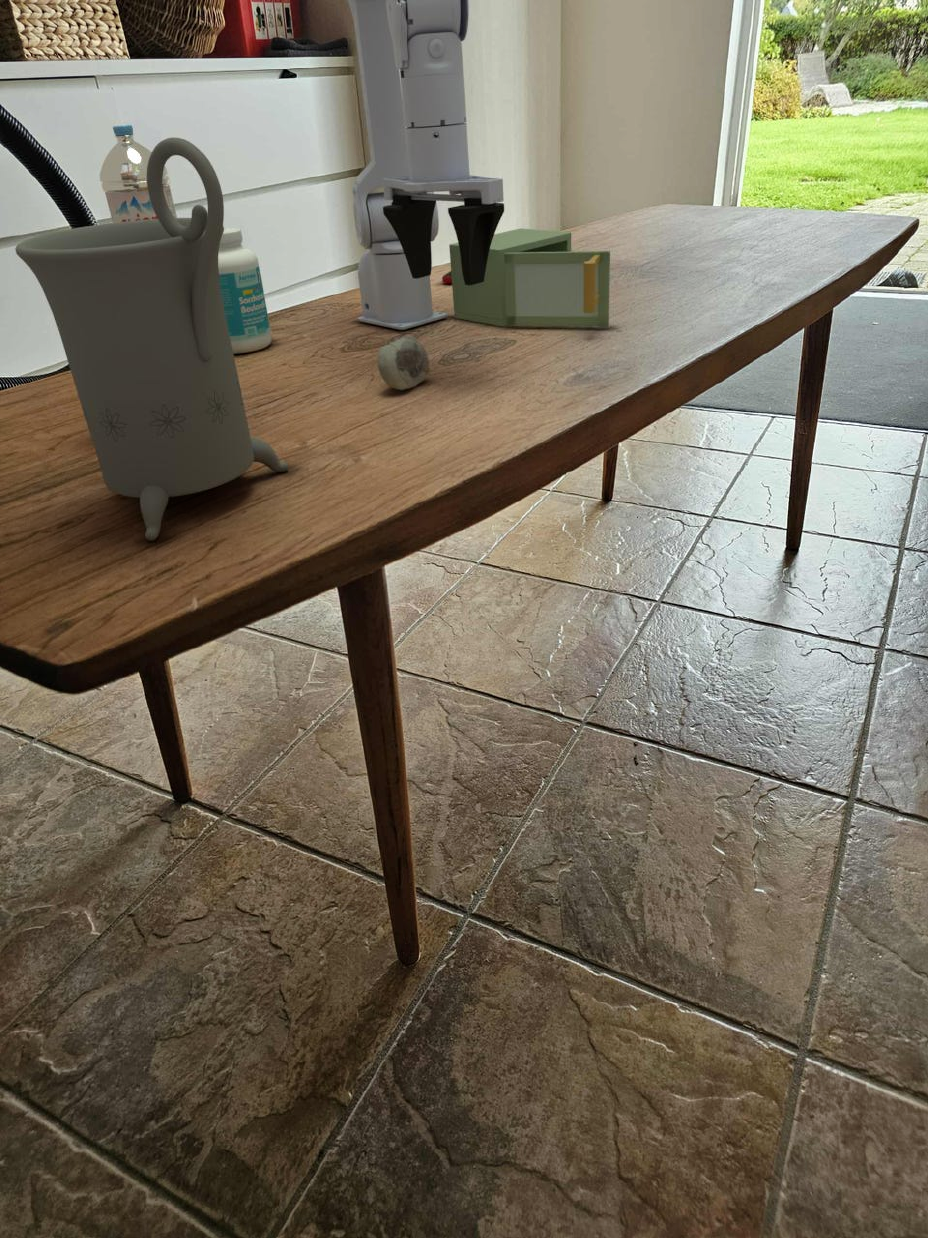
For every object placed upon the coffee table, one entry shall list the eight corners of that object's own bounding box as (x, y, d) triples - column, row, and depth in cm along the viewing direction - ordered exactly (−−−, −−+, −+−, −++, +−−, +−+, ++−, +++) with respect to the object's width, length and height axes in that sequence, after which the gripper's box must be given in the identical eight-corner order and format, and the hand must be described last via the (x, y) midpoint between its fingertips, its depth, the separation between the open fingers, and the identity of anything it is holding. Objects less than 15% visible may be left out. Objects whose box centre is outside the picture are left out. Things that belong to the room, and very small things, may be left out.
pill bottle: (259, 355, 105) (235, 234, 97) (203, 356, 106) (175, 237, 99) (282, 339, 111) (261, 224, 104) (228, 339, 112) (205, 226, 105)
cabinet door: (495, 336, 104) (491, 261, 99) (507, 324, 108) (504, 252, 103) (600, 337, 100) (601, 259, 95) (608, 325, 104) (610, 250, 100)
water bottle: (223, 363, 103) (170, 120, 89) (190, 381, 97) (128, 125, 84) (174, 362, 105) (116, 124, 92) (139, 379, 99) (72, 130, 86)
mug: (44, 512, 69) (-84, 156, 55) (185, 448, 79) (106, 134, 66) (209, 561, 59) (103, 148, 46) (345, 481, 70) (291, 124, 56)
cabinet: (503, 326, 108) (499, 249, 103) (454, 317, 114) (449, 244, 109) (571, 305, 115) (571, 232, 111) (522, 297, 121) (520, 228, 116)
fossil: (402, 398, 87) (396, 347, 84) (374, 395, 88) (367, 345, 86) (434, 379, 92) (429, 330, 89) (406, 376, 93) (401, 329, 90)
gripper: (352, 130, 82) (370, 281, 90) (461, 127, 73) (471, 294, 81) (407, 124, 87) (420, 268, 94) (516, 120, 78) (521, 280, 85)
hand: (447, 279), depth 87 cm, fingers open, 7 cm apart
